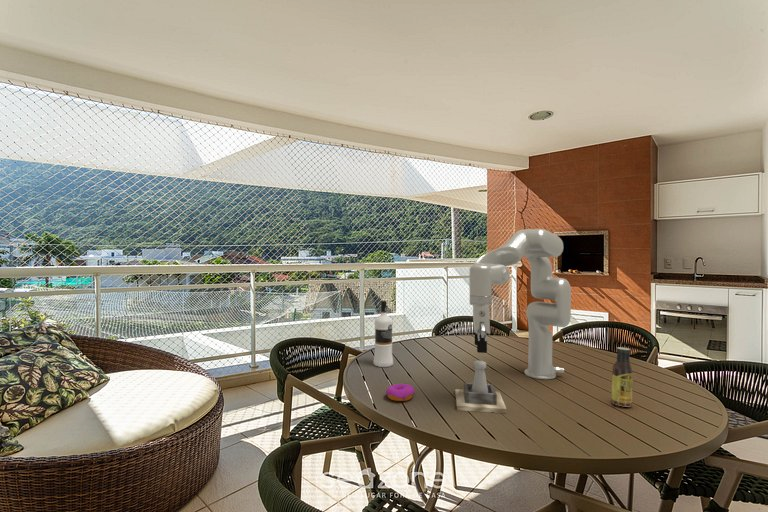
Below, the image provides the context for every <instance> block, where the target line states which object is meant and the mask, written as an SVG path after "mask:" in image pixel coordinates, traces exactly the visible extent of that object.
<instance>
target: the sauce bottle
mask: <svg viewBox="0 0 768 512" xmlns="http://www.w3.org/2000/svg"><path fill="white" fill-rule="evenodd" d="M630 354H631V349H630V348H628V347H622V346H621V347H619V346H618V347H616V361H615V362H614V364H613V365H612V373H611V396H610V398H611V401H610V402H611V404H612V403H614V404H617V405H622V406H630V405H631V406H632V405H633V404H632V403H633V387H634V385H633V384H634V372H633V369H632V366H631V359H630Z"/></svg>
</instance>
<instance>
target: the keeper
mask: <svg viewBox="0 0 768 512" xmlns="http://www.w3.org/2000/svg"><path fill="white" fill-rule="evenodd" d="M472 385H473V382H463V387H462V388H463V389H461V388H455V389H454V391H455V392H454V394H455V403H456V411H461V412H463V411H465V412H476V411H477V412H478V413H479V412H481V413H491V412H494V414H495V413H496V414H506V413H507V410H508V409H507V407H506V404H505V401H504V400H503V398H502V395H501V392H500V391H496V388H495V387H494V384H492V383H487V387H488V393H480V392H472ZM477 412H476V413H477Z"/></svg>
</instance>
